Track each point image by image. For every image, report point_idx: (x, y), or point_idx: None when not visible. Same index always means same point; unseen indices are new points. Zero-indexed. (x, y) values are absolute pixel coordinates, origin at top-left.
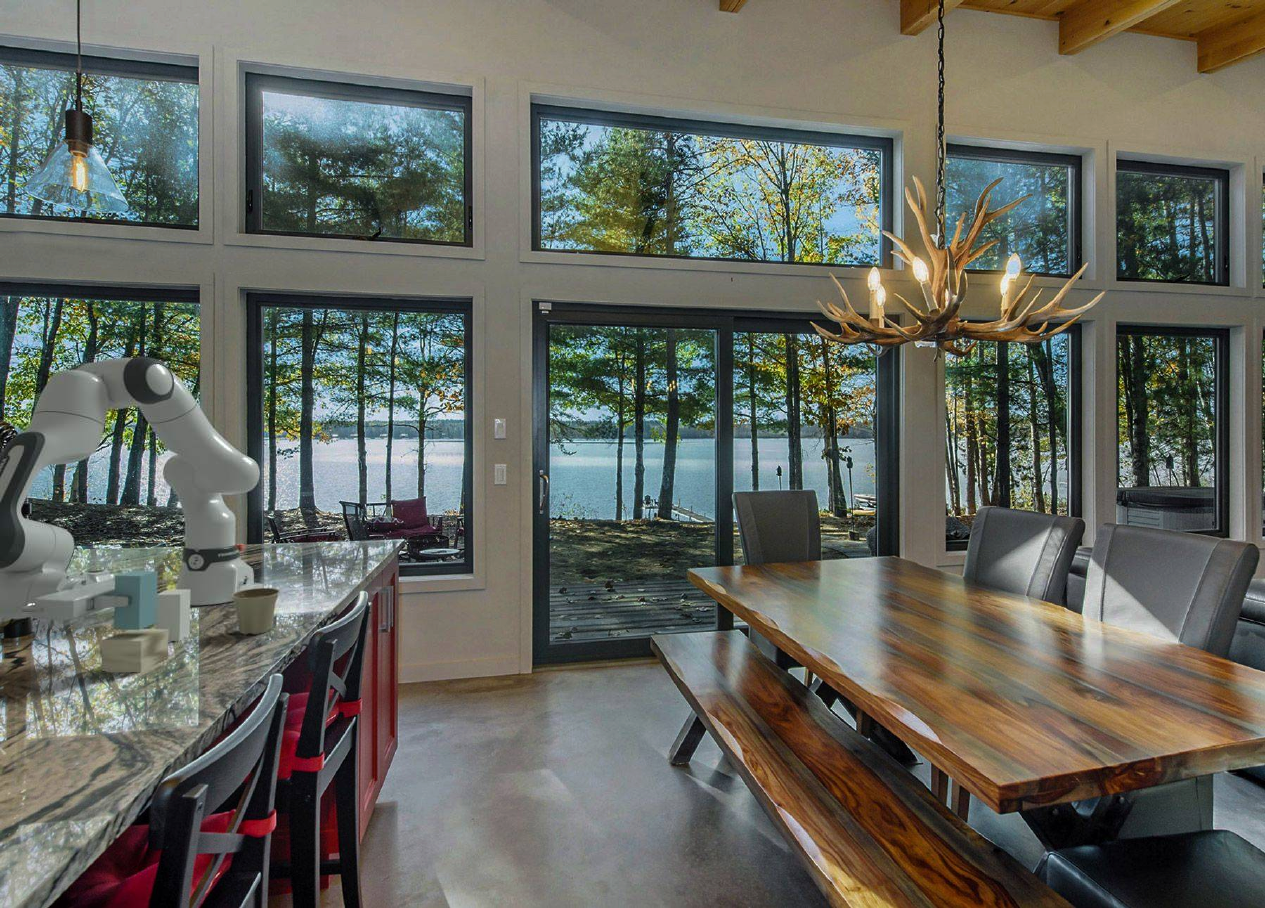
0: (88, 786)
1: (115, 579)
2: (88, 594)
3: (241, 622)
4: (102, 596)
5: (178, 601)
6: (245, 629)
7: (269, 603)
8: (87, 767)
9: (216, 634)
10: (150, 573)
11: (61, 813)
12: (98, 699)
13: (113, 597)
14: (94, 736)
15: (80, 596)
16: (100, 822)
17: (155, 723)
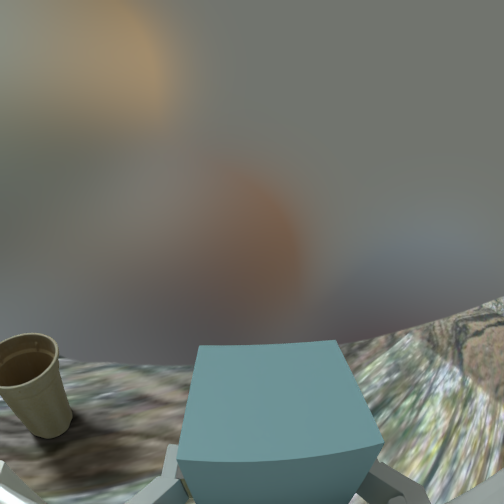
0: (486, 325)
1: (374, 457)
2: (470, 499)
3: (55, 417)
4: (410, 500)
5: (16, 479)
6: (65, 421)
7: (51, 355)
8: (483, 340)
9: (47, 471)
10: (256, 346)
11: (498, 317)
12: (425, 456)
13: (386, 467)
14: (469, 373)
15: (502, 482)
16: (486, 304)
17: (427, 357)
